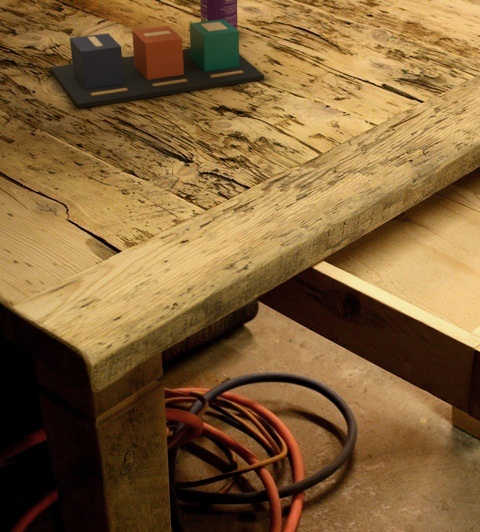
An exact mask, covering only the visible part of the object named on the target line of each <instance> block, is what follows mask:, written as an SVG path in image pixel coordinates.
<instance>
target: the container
mask: <svg viewBox="0 0 480 532" xmlns="http://www.w3.org/2000/svg"><path fill="white" fill-rule="evenodd" d="M199 5H200V6H199V10H200V22H204V21H212V20H220V19H224V20H226V21H227V22H228V23H229V24H231V25H232V26H233V27H234V28H236V29H237V30H238V0H199Z"/></svg>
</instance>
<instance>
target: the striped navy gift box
mask: <svg viewBox="0 0 480 532" xmlns="http://www.w3.org/2000/svg"><path fill="white" fill-rule="evenodd" d="M69 44H70V53H71V60H72V61H71V64H73V73H74V76H75V77H76V79H77V80H78V81H79V82H80V84H81V85H82V86H83V87H84V89H93V88H99V87H106V86H113V85H119V84H124V78H123V65H122V57H123V53H122V46H121V45H120V44H119V43H118V41H117V40H115V39H114V38H113V36H112V35H111V34H110V33H109V32H108V33H99V34H91V35H83V36H75V37H70V38H69Z"/></svg>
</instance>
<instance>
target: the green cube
mask: <svg viewBox="0 0 480 532" xmlns="http://www.w3.org/2000/svg"><path fill="white" fill-rule="evenodd" d="M189 48H190V54H191V59H192V60H193V61H194V62H195V63H196V64H197V65H198V66H199V67H200V68H201V69H202V70H203V71H205V72H206V71H213V70H220V69H226V68H233V67H239V55H240V31H239V30H238V28H237V29H236V28H234V27H233V26H232V25H231V24H229V23H228V22H227V21H226V20H224V19H220V20H212V21H204V22H201V21H198V22H197V21H196V22H189Z"/></svg>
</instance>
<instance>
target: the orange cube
mask: <svg viewBox="0 0 480 532" xmlns="http://www.w3.org/2000/svg"><path fill="white" fill-rule="evenodd" d="M131 36H132V48H133V49H132V50H133V56H134V64H135V67H136V68H137V69H138V70H139V72H140V73H141V74H142V75H143V76H144V77H145V78H146V79H147V80H151V79H158V78H165V77H172V76H178V75H184V69H183V49H184V46H183V43H184V42H183V38H182V37H181V35H179V34H178V33H177V32H176V31H175V30H174V29H173V28H172V27H170V26H169V25H163V26H156V27H150V28H149V27H148V28H141V29H132V30H131Z"/></svg>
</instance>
